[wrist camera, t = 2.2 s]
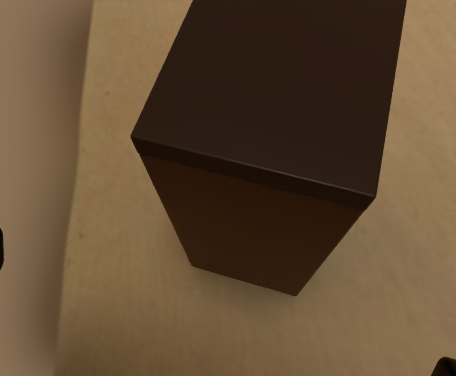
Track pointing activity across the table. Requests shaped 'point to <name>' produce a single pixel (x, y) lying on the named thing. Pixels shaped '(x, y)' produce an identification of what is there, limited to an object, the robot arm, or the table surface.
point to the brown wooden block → (271, 130)
